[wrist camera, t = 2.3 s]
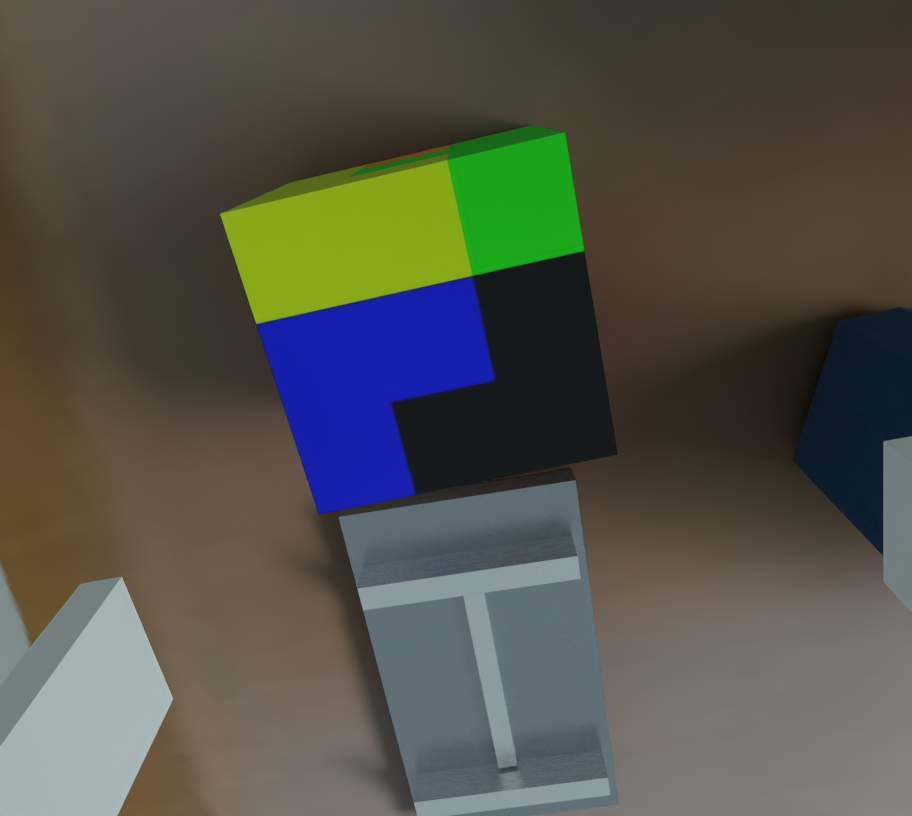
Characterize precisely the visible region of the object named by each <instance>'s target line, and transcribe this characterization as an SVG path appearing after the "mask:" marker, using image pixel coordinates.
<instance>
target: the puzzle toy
mask: <svg viewBox="0 0 912 816" xmlns="http://www.w3.org/2000/svg"><path fill="white" fill-rule="evenodd" d="M220 215H221V218H222V221H223V224H224V227H225V230H226V234H227V237H228V240H229V243H230V246H231V249H232V252H233V255H234V258H235V261H236V264H237V267H238V270H239V273H240V276H241V279H242V282H243V285H244V288H245V291H246V294H247V297H248V300H249V303H250V307H251V310H252V313H253V316H254V319H255V322H256V325H257V328H258V331H259V334H260V337H261V340H262V343H263V346H264V349H265V352H266V355H267V358H268V361H269V364H270V367H271V370H272V373H273V376H274V380H275V383H276V386H277V389H278V392H279V395H280V398H281V401H282V404H283V407H284V410H285V413H286V416H287V419H288V422H289V425H290V428H291V431H292V434H293V437H294V440H295V443H296V446H297V449H298V453H299V456H300V459H301V462H302V465H303V468H304V471H305V474H306V477H307V480H308V483H309V486H310V489H311V492H312V495H313V498H314V501H315V504H316V507H317V510H318V513H319V514H323V513H328V512H333V511H338V510H343V509H348V508H353V507H358V506H363V505H368V504H373V503H378V502H383V501H388V500H393V499H398V498H403V497H408V496H413V495H418V494H423V493H428V492H433V491H438V490H443V489H448V488H453V487H458V486H463V485H468V484H473V483H478V482H483V481H488V480H493V479H498V478H503V477H508V476H513V475H518V474H523V473H528V472H533V471H538V470H543V469H548V468H553V467H558V466H563V465H568V464H573V463H578V462H583V461H588V460H593V459H598V458H603V457H608V456H613V455H618V454H617V448H616V442H615V436H614V430H613V424H612V418H611V412H610V405H609V399H608V393H607V387H606V381H605V375H604V369H603V362H602V356H601V350H600V344H599V338H598V332H597V326H596V319H595V313H594V307H593V301H592V295H591V289H590V283H589V277H588V270H587V264H586V258H585V252H584V246H583V240H582V234H581V227H580V221H579V215H578V209H577V203H576V197H575V191H574V184H573V178H572V172H571V166H570V160H569V154H568V148H567V142H566V135H565V132H561V131H556V130H552V129H548V128H543V127H539V126H534V125H531V126H527V127H522V128H518V129H514V130H510V131H506V132H501V133H497V134H493V135H489V136H484V137H480V138H476V139H472V140H468V141H463V142H459V143H455V144H451V145H447V146H442V147H438V148H434V149H430V150H425V151H421V152H417V153H413V154H409V155H404V156H400V157H396V158H392V159H388V160H383V161H379V162H375V163H371V164H367V165H362V166H358V167H354V168H350V169H345V170H341V171H337V172H333V173H329V174H324V175H320V176H316V177H312V178H308V179H303V180H299V181H295V182H291V183H288V184H286V185H284V186H282V187H279V188H277V189H275V190H273V191H270V192H268V193H266V194H264V195H261V196H259V197H257V198H254V199H252V200H250V201H248V202H245V203H243V204H241V205H239V206H236V207H234V208H232V209H230V210H227V211H225V212H223V213H221V214H220Z"/></svg>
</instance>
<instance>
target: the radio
mask: <svg viewBox="0 0 912 816" xmlns="http://www.w3.org/2000/svg"><path fill="white" fill-rule="evenodd" d="M910 436H912V309H908V308H901V307H899V308H894V309H890V310H886V311H881V312H877V313H872V314H868V315H863V316H859V317H855V318H850V319H846V320H841V321H838V323H837V326H836V329H835V332H834V335H833V338H832V341H831V344H830V347H829V350H828V353H827V356H826V359H825V362H824V365H823V368H822V372H821V375H820V378H819V381H818V384H817V387H816V390H815V393H814V396H813V399H812V402H811V405H810V408H809V411H808V414H807V417H806V420H805V423H804V427H803V430H802V433H801V436H800V439H799V442H798V445H797V448H796V451H795V454H794V457H793V461H794V462H795V463H796V464H797V465H798V466H799V468H800V469H801V470H802V471H803V472H804V473H805V474H806V475H807V476H808V477H809V478H810V479H811V480H812V481H813V482H814V483H815V484H816V485H817V487H818V488H819V489H820V490H821V491H822V492H823V493H824V494H825V495H826V496H827V497H828V498H829V499H830V500H831V501H832V502H833V503H834V504H835V505H836V507H837V508H838V509H839V510H840V511H841V512H842V513H843V514H844V515H845V516H846V517H847V518H848V519H849V520H850V521H851V522H852V523H853V524H854V525H855V527H856V528H857V529H858V530H859V531H860V532H861V533H862V534H863V535H864V536H865V537H866V538H867V539H868V540H869V541H870V542H871V543H872V544H873V545H874V547H875V548H876V549H877V550H878V551H879V552H880V553H881V554H882V555H883V441H888V440H893V439H899V438H905V437H910Z"/></svg>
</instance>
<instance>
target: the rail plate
mask: <svg viewBox="0 0 912 816" xmlns="http://www.w3.org/2000/svg"><path fill="white" fill-rule="evenodd" d="M339 521H340V525H341V529H342V532H343V536H344V540H345V544H346V548H347V551H348V555H349V559H350V563H351V567H352V570H353V574H354V578H355V582H356V586H357V589H358V593H359V597H360V601H361V605H362V608H363V612H364V616H365V620H366V623H367V627H368V631H369V635H370V639H371V642H372V646H373V650H374V654H375V658H376V661H377V665H378V669H379V673H380V677H381V680H382V684H383V688H384V692H385V696H386V699H387V703H388V707H389V711H390V715H391V718H392V722H393V726H394V730H395V734H396V737H397V741H398V745H399V749H400V752H401V756H402V760H403V764H404V768H405V771H406V775H407V779H408V783H409V787H410V790H411V794H412V798H413V802H414V806H415V809H416V813H417V816H530V815H538V814H546V813H553V812H561V811H569V810H577V809H585V808H593V807H601V806H609V805H617V804H619V803H618V795H617V788H616V780H615V773H614V765H613V758H612V750H611V743H610V735H609V728H608V720H607V713H606V705H605V698H604V690H603V683H602V675H601V668H600V660H599V653H598V645H597V638H596V630H595V623H594V615H593V607H592V600H591V592H590V585H589V577H588V570H587V562H586V555H585V547H584V540H583V532H582V525H581V517H580V510H579V502H578V495H577V487H576V480H575V477H574V474H573V471H572V469H566V470H560V471H553V472H547V473H541V474H534V475H528V476H521V477H515V478H508V479H502V480H496V481H489V482H483V483H476V484H470V485H464V486H458V487H453V488H448V489H443V490H438V491H433V492H428V493H423V494H418V495H413V496H408V497H403V498H398V499H393V500H388V501H383V502H378V503H373V504H368V505H363V506H358V507H353V508H348V509H343V510H340V513H339Z"/></svg>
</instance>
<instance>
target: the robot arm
mask: <svg viewBox="0 0 912 816" xmlns="http://www.w3.org/2000/svg"><path fill="white" fill-rule="evenodd" d="M883 582H884V583H885V584H886V585H887V586H888V587H889V588H890V590H891V591H892V592H893V593H894V594H895V595H896V596H897V597H898V598H899V599H900V601H901V602H902V603H903V604H904V605H905V606H906V607H907V608H908V609H909V610H910V612H911V613H912V436H910V437H905V438H899V439H893V440H888V441H883ZM172 700H173V697H172V695H171V693H170V690H169V688H168V686H167V683H166V681H165V678H164V676H163V674H162V671H161V669H160V667H159V664H158V662H157V659H156V657H155V655H154V652H153V650H152V648H151V645H150V643H149V640H148V638H147V636H146V633H145V631H144V629H143V626H142V624H141V621H140V619H139V617H138V614H137V612H136V610H135V607H134V605H133V602H132V600H131V598H130V595H129V593H128V591H127V588H126V586H125V583H124V581H123V579H122V577H117V578H111V579H106V580H100V581H94V582H89V583H83V584H80V585H79V586H78V588H77V589H76V590H75V591H74V593H73V594H72V595H71V597H70V598H69V599H68V600H67V602H66V603H65V604H64V605H63V607H62V608H61V609H60V610H59V612H58V613H57V614H56V615H55V617H54V618H53V619H52V621H51V622H50V623H49V624H48V626H47V627H46V628H45V629H44V631H43V632H42V633H41V634H40V636H39V637H38V638H37V640H36V641H35V642H34V643H33V645H32V646H31V647H30V648H29V650H28V651H27V652H26V654H25V655H24V656H23V657H22V659H21V660H20V661H19V662H18V664H17V665H16V666H15V667H14V669H13V670H12V671H11V672H10V674H9V675H8V676H7V678H6V679H5V680H4V681H3V683H2V684H1V685H0V816H117V815H118V813H119V811H120V809H121V807H122V805H123V803H124V801H125V798H126V796H127V794H128V792H129V790H130V788H131V786H132V784H133V782H134V780H135V778H136V776H137V773H138V771H139V769H140V767H141V765H142V763H143V761H144V759H145V757H146V755H147V753H148V750H149V748H150V746H151V744H152V742H153V740H154V738H155V736H156V734H157V732H158V730H159V727H160V725H161V723H162V721H163V719H164V717H165V715H166V713H167V711H168V709H169V707H170V704H171V702H172Z"/></svg>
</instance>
